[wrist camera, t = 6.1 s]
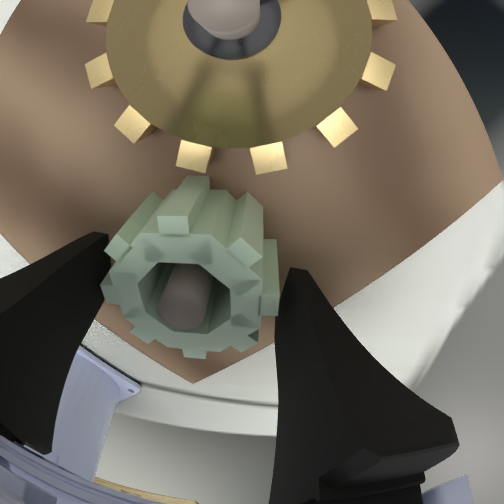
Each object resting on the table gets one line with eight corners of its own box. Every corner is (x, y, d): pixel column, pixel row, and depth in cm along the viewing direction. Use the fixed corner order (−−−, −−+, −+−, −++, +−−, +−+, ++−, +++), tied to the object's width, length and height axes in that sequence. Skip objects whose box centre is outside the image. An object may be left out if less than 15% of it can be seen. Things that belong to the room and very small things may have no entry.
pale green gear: (209, 318, 13) (198, 375, 11) (111, 242, 11) (76, 291, 9) (306, 249, 11) (317, 307, 8) (196, 143, 9) (167, 171, 6)
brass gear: (234, 212, 10) (222, 270, 8) (65, 57, 7) (-1, 62, 4) (427, 60, 7) (490, 62, 4) (245, -104, 4) (237, -155, 1)
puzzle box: (84, 471, 58) (111, 488, 71) (80, 482, 54) (109, 497, 67) (197, 499, 57) (207, 508, 70) (196, 513, 54) (205, 519, 66)
